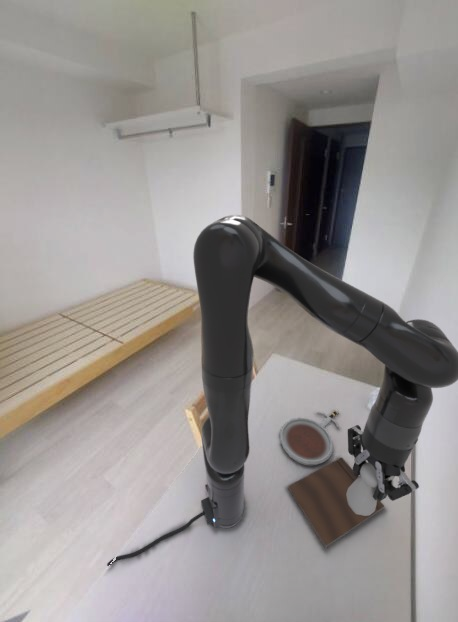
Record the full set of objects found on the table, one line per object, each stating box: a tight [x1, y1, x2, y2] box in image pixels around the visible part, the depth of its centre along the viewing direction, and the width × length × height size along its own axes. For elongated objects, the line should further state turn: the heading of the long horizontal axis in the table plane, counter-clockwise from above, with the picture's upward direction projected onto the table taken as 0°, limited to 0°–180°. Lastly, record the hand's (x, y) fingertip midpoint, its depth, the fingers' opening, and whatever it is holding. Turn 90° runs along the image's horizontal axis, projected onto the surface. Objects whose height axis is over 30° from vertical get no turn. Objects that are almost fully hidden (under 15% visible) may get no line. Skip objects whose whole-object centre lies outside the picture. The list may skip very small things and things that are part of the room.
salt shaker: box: [346, 461, 378, 516], centre depth 56 cm, size 6×6×13 cm
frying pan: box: [279, 409, 340, 467], centre depth 92 cm, size 17×3×28 cm
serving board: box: [287, 457, 385, 549], centre depth 74 cm, size 20×15×2 cm
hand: (367, 484), depth 55 cm, fingers closed on salt shaker, 4 cm apart
